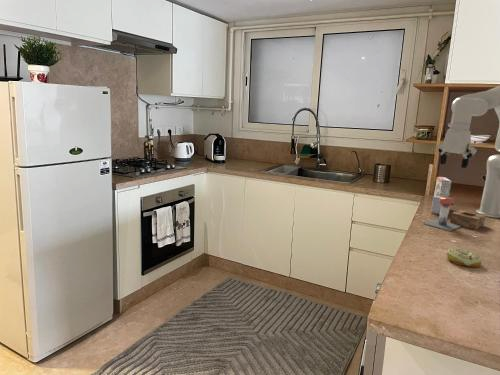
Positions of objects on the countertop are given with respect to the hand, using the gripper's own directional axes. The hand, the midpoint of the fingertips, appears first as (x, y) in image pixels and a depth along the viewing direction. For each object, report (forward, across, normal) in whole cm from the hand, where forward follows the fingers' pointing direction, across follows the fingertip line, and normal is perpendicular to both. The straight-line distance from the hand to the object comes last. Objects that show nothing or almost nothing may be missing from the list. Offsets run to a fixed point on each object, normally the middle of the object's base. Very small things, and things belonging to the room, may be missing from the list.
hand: (453, 165), depth 169 cm
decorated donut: (+28, +29, -35) cm, 54 cm away
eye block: (+28, +4, +14) cm, 31 cm away
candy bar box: (+28, -20, +30) cm, 46 cm away
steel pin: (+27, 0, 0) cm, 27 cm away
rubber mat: (+28, 0, 0) cm, 28 cm away
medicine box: (+28, -14, +19) cm, 36 cm away
